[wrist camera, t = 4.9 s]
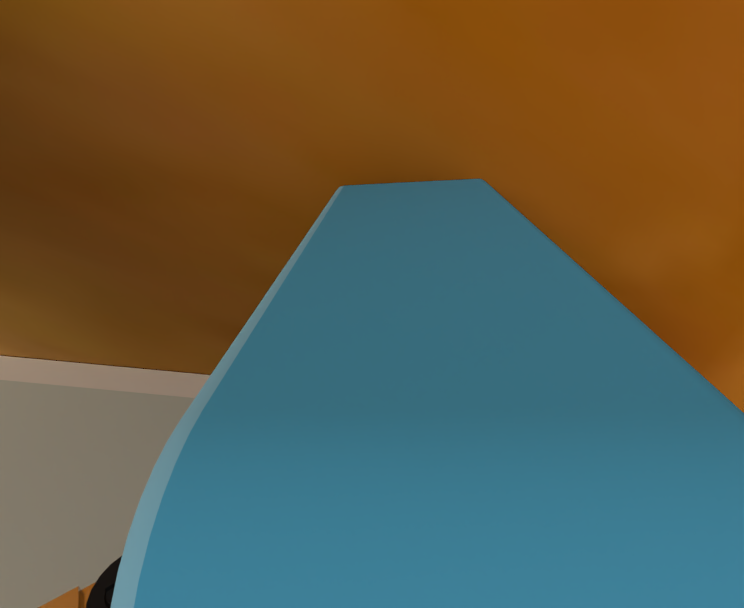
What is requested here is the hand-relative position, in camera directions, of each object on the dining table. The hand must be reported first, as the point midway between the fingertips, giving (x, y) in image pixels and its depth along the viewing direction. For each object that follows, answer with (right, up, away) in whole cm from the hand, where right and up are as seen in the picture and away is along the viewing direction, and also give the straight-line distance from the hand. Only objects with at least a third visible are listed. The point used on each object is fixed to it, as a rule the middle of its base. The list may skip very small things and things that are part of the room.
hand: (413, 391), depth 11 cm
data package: (0, +2, +4) cm, 4 cm away
